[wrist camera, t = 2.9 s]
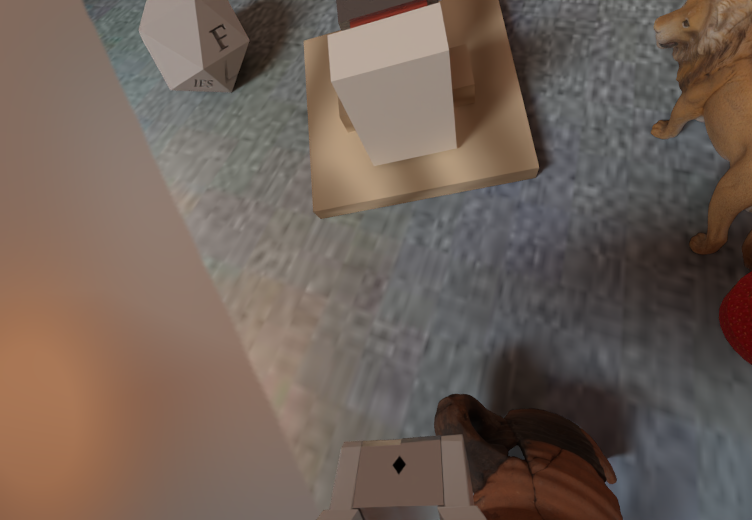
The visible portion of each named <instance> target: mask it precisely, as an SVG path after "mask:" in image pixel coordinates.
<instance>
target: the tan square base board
mask: <svg viewBox="0 0 752 520" xmlns="http://www.w3.org/2000/svg"><path fill="white" fill-rule="evenodd" d="M439 2H440V5H441V10H442V16H443V21H444V26H445V32H446V37H447V42H448V48H449V57H450V69H451V82H452V94H453V107H454V119H455V132H456V144H457V149H452V150H447V151H443V152H438V153H433V154H429V155H424V156H419V157H415V158H410V159H405V160H401V161H396V162H391V163H387V164H382V165H377V166H374V165H373V164H372V162H371V160H370V158H369V156H368V154H367V152H366V150H365V148H364V146H363V144H362V142H361V140H360V138H359V136H358V134H357V132H356V130H355V128H354V126H353V124H352V122H351V120H350V118H349V116H348V114H347V112H346V110H345V108H344V106H343V104H342V102H341V101H340V99H339V97H338V95H337V93H336V91H335V89H334V87H333V85H332V83H331V76H330V63H329V50H328V37H327V35H330V34H333V33H337V32H340V31H341V30H340V31H336V32H333V33H329V34H326V35H323V36H319V37H316V38H312V39H309V40H306V41H304V54H305V72H306V89H307V107H308V125H309V143H310V161H311V179H312V197H313V212H314V213H315V214H316V215H317V216H318V217H319V218H320V219H323V218H328V217H333V216H339V215H344V214H349V213H354V212H359V211H365V210H370V209H375V208H380V207H386V206H391V205H396V204H401V203H406V202H412V201H417V200H422V199H427V198H433V197H438V196H443V195H448V194H453V193H459V192H464V191H469V190H474V189H480V188H485V187H490V186H495V185H500V184H506V183H511V182H516V181H521V180H527V179H532V178H536V176H537V173H538V170H539V164H538V160H537V156H536V152H535V148H534V144H533V140H532V136H531V132H530V127H529V123H528V119H527V115H526V111H525V107H524V103H523V99H522V94H521V90H520V86H519V82H518V78H517V74H516V70H515V66H514V62H513V57H512V53H511V49H510V45H509V41H508V37H507V33H506V29H505V24H504V20H503V16H502V12H501V8H500V4H499V0H441V1H438V3H439Z"/></svg>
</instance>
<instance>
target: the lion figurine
mask: <svg viewBox="0 0 752 520" xmlns="http://www.w3.org/2000/svg"><path fill="white" fill-rule="evenodd" d="M654 30H655V31H656V40H657V46H658V47H659V48H661V49H664V48H672V47H674V49H673V58H674V59H675V60H676V61H678V63H679V70H678V73H677V78H676V80H677V81H678V82H679V87H680V89H681V91H682V94H681V96H680V98H679V99H678V101H677V103H676V104H675V106H674V108H673V110H672V113H671V117H670V120H669V121H663V120H660V121H658V122H657V123H656V124H654V125H653V127H652V130H651V134H652V135H653V136H655V137H657V138H660V139H669V138H672V137H676V136H677V135H678V134H679V132H680V131H681V130H682V128H683V126H684V125H685V124H686V122H688V121H690V120H694V119H695V120H697V121H699V122H705V126H706V129H707V133H708V135H709V138H710V140H711V142H712V144H713V146H714V148H715V149H716V151H717V152H718V153H719V154H720V156H721V157H723V158H724V159H726V160H728V161H730V169H729V170H728V171H727V172H726V173H725V175H724V176H723V177H722V178H721V179H720V181H719V182H718V184H717V186H716V188H715V191H714V193H713V195H712V198H711V201H710V204H709V210H708V230H707V235H706V234H704V233H698V234H697V235H696V236H694V237H692V238H691V241H690V242H689V246H690V248H691V249H692V250H693V252H695V253H698V254H711V253H714V252H716V251H718V250H719V249H720V248H721V247H722V246H723V245H724V244H725V243H726V242H727V240H728V229H729V227H730V225H731V223H732V222H733V220H734V219H735V217H736V216H737V215H738V214H739V213H740V212H741V211H743V210H744V209H745V210H746V211H748V212H752V0H687V1H686V2H685V4H684V5H683V6H682V8H681V9H678V10H676V11H673V12H671V13H669V14H666V15H663V16H660V17H659V18H658V19H656V21H655V23H654ZM742 253H743V259H744V266H745V267H746V268H748V269H749V270H750V271H752V229H751V231H750V232H749V234H748V235H747V237H746V239H745V241H744V243H743V245H742Z"/></svg>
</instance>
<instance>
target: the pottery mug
mask: <svg viewBox="0 0 752 520" xmlns="http://www.w3.org/2000/svg"><path fill="white" fill-rule="evenodd" d="M434 428H435V433H436V436H438V435H441V436H447V435H459V434H462V435H463V438H464V444H465V449H466V455H467V460H468V466H469V472H470V478H471V484H472V492H473V493H474V496H473V500H474V506H478V508H479V509H480V511H481V512H482V513H483V515H484V516H485V517H486V519H487V520H623V517H622V515H621V512H620V506H619V503H618V499H617V497H616V496H615V495H614V494H613V492H612V491H611V490H610V489H609V488H608V487H607V486H606V484H605V482H606V480H607V482H608V483H609V484H614V483H616V481H617V479H616V475H615V473H614V471H613V468H612V466H611V464H610V463H609V461H608V460H607V458H606V457H605V456H604V455H603V453H602V451H601V450H600V448H599V446H598V445H597V444H596V442H595V441H594V440H593V439H592V438H591V437H590V436H589V435H588V434H587V433H586V432H585V431H584V430H583V429H581V428H580V427H579V426H578V425H576V424H575V423H573V422H572V421H570V420H568V419H566V418H564V417H562V416H560V415H558V414H554V413H551V412H548V411H545V410H540V409H517V410H511V411H509V413H508V415H506V417H505V418H503V417H501V416H498V415H496V414H494V413H492V412H491V411H489V410H488V409H486V408H485V407H484V406H483V405H482V404H481V403H480V402H479V401H478V400H476V399H475V398H474V397H472V396H470V395H468V394H461V395H460V394H452V395H449V396H448V397H445V398H444V399H442V400H440V402H439V404H438V408H437V412H436V415H435V421H434ZM516 445H518V446H519V447H520V449H521V451H522V453H523V456H524V458H525V460H522V459H520V458H518V457H515V456H512V457H510V456H508V451H509V450H510V449H512V448H513V447H515V446H516Z"/></svg>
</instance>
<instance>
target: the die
mask: <svg viewBox="0 0 752 520" xmlns="http://www.w3.org/2000/svg"><path fill="white" fill-rule="evenodd" d="M139 32H140V35H141V38H142V40H143V41H144V43H145V45H146V47H147V49H148V51H149V52H150V54H151V56H152V58H153V60H154V61H155V63H156V65H157V67H158V69H159V70H160V72H161V74H162V76H163V78H164V79H165V81H166V83H167V85H168V87H169V88H170V90H177V91H204V92H231V93H232V90H233V87H234V84H235V81H236V78H237V75H238V73H239V70H240V67H241V64H242V61H243V58H244V55H245V53H246V50H247V47H248V44H249V41H250V40H249V38H248V36H247V35H246V33H245V31H244V29H243V27H242V25H241V24H240V22H239V20H238V18H237V16H236V14H235V13H234V11H233V9H232V7H231V5H230V4H229V2H228V0H147V1H146V4H145V8H144V12H143V16H142V19H141V23H140V27H139Z"/></svg>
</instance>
